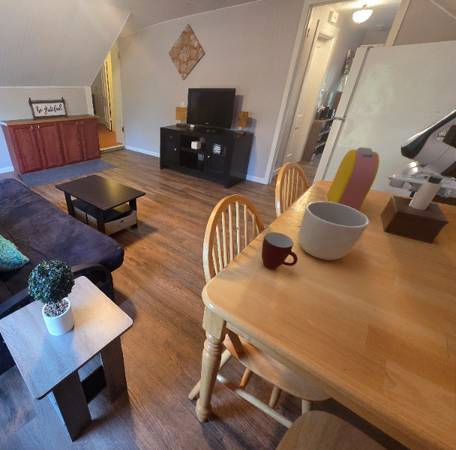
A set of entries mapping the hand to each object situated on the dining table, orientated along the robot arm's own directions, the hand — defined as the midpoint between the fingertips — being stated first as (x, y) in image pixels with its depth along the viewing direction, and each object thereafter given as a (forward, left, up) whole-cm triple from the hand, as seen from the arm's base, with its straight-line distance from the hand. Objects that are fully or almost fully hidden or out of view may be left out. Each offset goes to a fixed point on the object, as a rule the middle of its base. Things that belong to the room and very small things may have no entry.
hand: (428, 192), depth 89 cm
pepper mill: (0, -1, -6) cm, 6 cm away
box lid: (0, 0, -7) cm, 7 cm away
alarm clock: (+18, -16, -16) cm, 29 cm away
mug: (+50, +42, -16) cm, 67 cm away
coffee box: (0, -1, -16) cm, 16 cm away
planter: (+35, +28, -16) cm, 48 cm away
